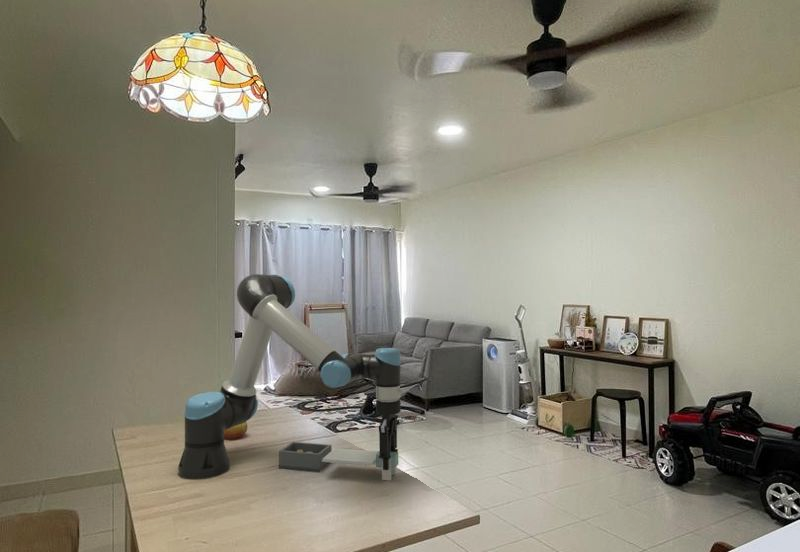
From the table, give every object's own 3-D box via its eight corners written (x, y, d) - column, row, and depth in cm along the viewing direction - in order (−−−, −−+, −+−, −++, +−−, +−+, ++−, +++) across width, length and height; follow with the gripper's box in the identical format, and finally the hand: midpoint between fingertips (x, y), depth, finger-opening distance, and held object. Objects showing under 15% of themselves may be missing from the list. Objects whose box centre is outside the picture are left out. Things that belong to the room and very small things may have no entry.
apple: (236, 432, 198) (237, 412, 198) (252, 436, 193) (252, 416, 193) (215, 438, 190) (215, 417, 191) (230, 443, 185) (230, 421, 185)
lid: (322, 466, 150) (322, 454, 150) (334, 455, 160) (334, 444, 160) (392, 472, 145) (392, 459, 145) (400, 460, 155) (400, 448, 155)
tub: (278, 468, 158) (278, 451, 158) (292, 458, 168) (292, 441, 168) (319, 472, 155) (319, 454, 155) (331, 461, 164) (331, 444, 165)
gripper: (393, 406, 142) (393, 488, 141) (406, 394, 159) (407, 468, 158) (368, 405, 144) (368, 486, 143) (383, 393, 160) (384, 466, 160)
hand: (388, 476), depth 150 cm, fingers closed on lid, 4 cm apart
